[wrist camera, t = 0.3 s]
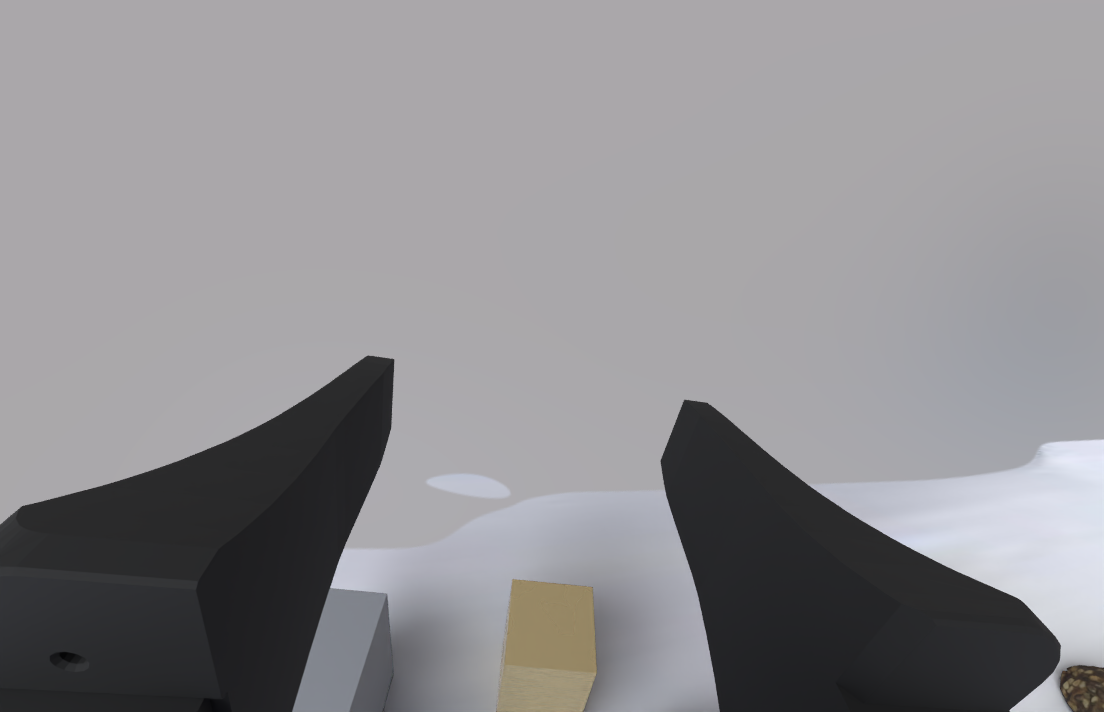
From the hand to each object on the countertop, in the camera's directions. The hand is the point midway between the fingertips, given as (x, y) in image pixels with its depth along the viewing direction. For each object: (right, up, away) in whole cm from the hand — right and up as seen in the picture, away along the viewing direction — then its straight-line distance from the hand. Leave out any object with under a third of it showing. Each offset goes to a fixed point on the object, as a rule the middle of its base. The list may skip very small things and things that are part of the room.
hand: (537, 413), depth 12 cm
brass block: (0, -16, +14) cm, 21 cm away
